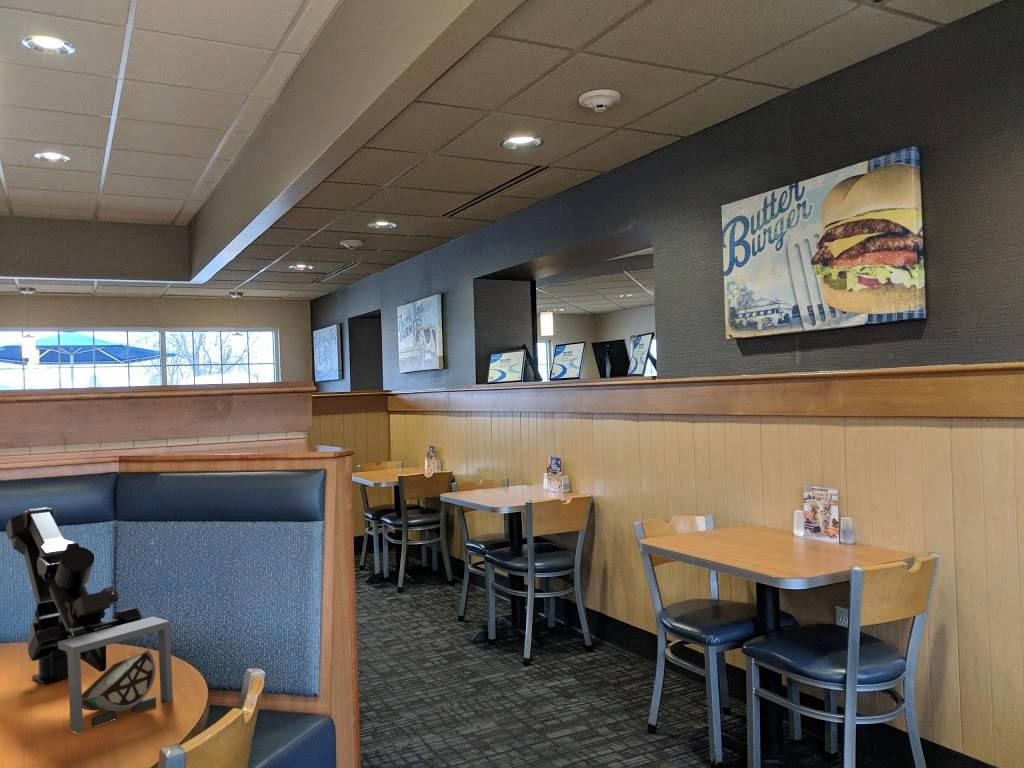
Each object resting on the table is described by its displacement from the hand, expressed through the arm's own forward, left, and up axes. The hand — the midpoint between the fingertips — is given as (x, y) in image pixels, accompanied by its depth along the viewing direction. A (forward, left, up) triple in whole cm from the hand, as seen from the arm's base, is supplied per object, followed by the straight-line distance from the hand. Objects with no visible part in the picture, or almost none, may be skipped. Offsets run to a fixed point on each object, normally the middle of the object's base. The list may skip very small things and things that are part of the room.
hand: (103, 669), depth 144 cm
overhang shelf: (+5, 0, -7) cm, 9 cm away
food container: (-1, 0, -5) cm, 5 cm away
